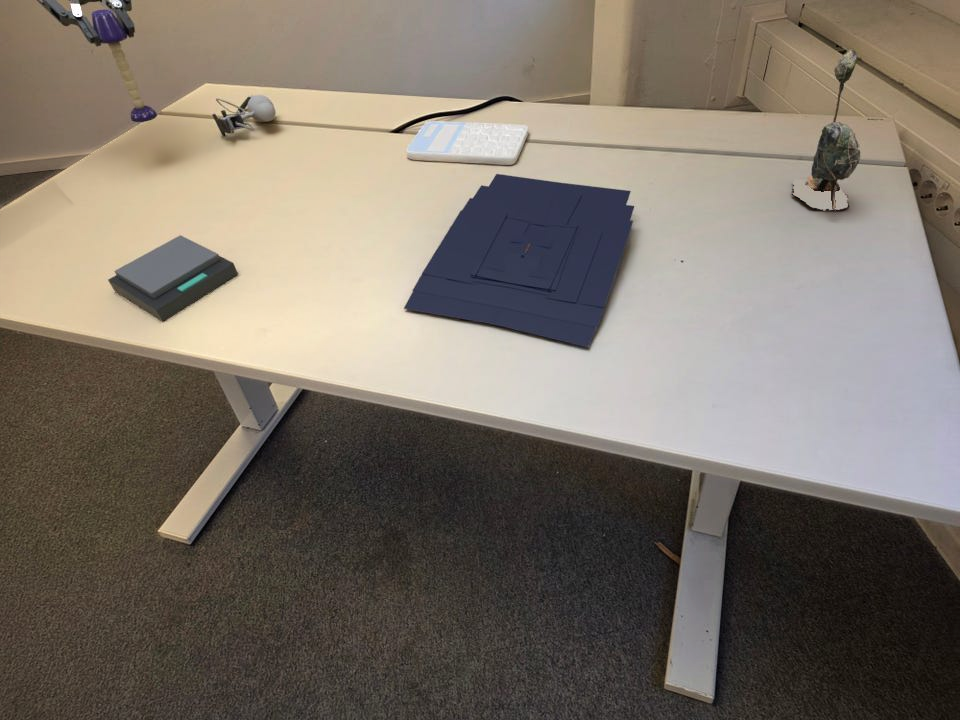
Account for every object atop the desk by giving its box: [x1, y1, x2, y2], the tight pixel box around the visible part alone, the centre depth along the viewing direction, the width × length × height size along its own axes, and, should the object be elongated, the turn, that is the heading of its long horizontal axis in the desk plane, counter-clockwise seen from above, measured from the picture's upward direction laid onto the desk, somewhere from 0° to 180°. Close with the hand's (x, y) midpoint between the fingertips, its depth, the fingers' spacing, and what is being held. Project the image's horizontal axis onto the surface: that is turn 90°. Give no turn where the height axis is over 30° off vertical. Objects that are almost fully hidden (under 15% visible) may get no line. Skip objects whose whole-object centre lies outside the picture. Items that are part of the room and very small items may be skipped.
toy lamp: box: [91, 9, 158, 123], centre depth 100 cm, size 5×5×17 cm
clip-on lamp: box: [211, 94, 277, 137], centre depth 121 cm, size 12×6×18 cm
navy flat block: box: [403, 173, 635, 348], centre depth 82 cm, size 24×30×4 cm
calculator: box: [405, 120, 530, 166], centre depth 109 cm, size 13×20×2 cm, turn 76°
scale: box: [107, 234, 239, 322], centre depth 83 cm, size 12×12×3 cm
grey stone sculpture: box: [805, 49, 862, 209], centre depth 82 cm, size 8×11×20 cm
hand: (114, 38), depth 96 cm, fingers closed on toy lamp, 4 cm apart
